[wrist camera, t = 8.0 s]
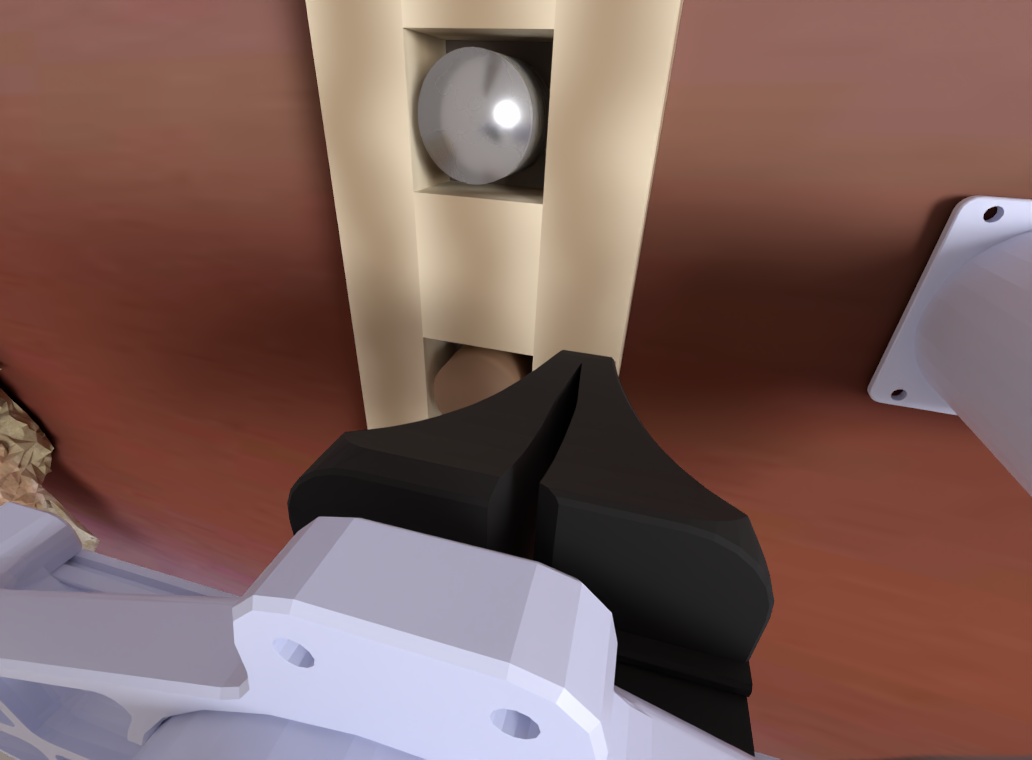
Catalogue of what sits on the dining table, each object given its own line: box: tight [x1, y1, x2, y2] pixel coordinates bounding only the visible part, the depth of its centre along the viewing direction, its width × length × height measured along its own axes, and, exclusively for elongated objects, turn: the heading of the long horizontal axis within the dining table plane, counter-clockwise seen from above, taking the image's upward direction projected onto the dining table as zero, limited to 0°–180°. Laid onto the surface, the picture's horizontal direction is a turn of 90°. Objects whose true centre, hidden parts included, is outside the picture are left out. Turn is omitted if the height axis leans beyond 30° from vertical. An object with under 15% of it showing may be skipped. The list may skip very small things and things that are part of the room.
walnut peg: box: [433, 344, 533, 414], centre depth 23 cm, size 4×4×3 cm
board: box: [305, 0, 683, 429], centre depth 20 cm, size 12×24×4 cm, turn 178°
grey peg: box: [418, 47, 550, 185], centre depth 17 cm, size 4×4×3 cm
